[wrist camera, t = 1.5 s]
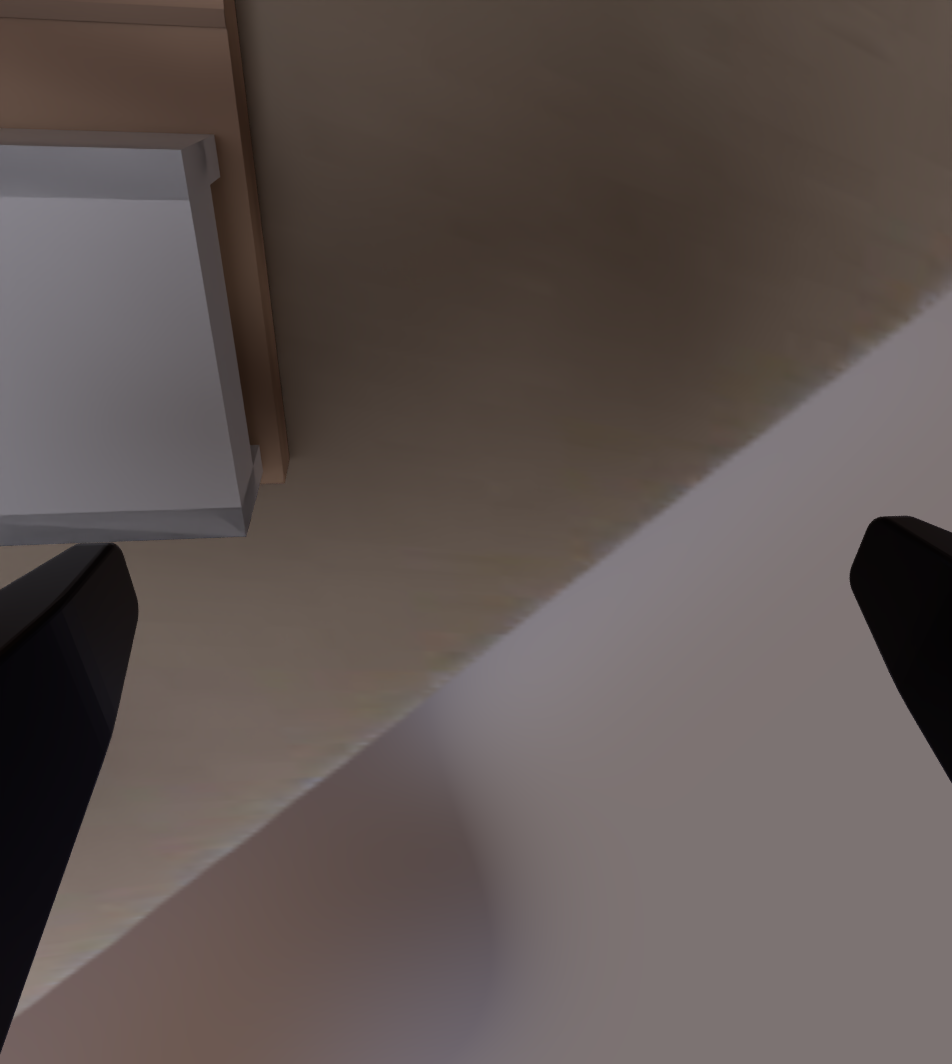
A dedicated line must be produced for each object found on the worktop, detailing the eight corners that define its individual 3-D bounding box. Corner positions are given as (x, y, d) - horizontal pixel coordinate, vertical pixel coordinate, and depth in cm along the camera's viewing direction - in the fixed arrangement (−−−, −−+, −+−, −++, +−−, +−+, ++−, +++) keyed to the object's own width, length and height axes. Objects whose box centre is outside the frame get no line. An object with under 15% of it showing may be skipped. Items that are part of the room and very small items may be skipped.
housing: (262, 471, 19) (246, 536, 17) (-15, 478, 18) (-80, 549, 16) (214, 134, 15) (180, 149, 12) (-154, 123, 14) (-277, 137, 11)
